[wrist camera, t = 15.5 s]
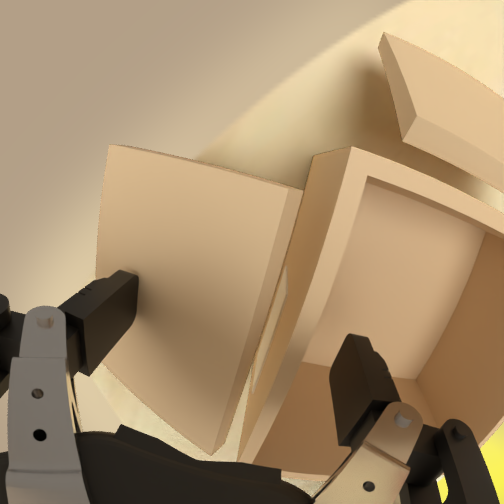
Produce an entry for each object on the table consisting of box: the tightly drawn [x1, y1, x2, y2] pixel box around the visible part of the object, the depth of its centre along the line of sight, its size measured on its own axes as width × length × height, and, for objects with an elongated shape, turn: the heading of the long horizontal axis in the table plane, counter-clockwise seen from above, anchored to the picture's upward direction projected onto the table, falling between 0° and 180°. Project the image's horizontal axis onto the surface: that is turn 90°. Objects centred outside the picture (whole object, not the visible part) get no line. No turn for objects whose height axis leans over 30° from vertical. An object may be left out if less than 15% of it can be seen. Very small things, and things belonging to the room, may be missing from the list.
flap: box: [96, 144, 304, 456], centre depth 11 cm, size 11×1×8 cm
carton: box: [237, 146, 504, 481], centre depth 14 cm, size 15×15×10 cm
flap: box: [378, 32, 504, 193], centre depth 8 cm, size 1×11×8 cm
